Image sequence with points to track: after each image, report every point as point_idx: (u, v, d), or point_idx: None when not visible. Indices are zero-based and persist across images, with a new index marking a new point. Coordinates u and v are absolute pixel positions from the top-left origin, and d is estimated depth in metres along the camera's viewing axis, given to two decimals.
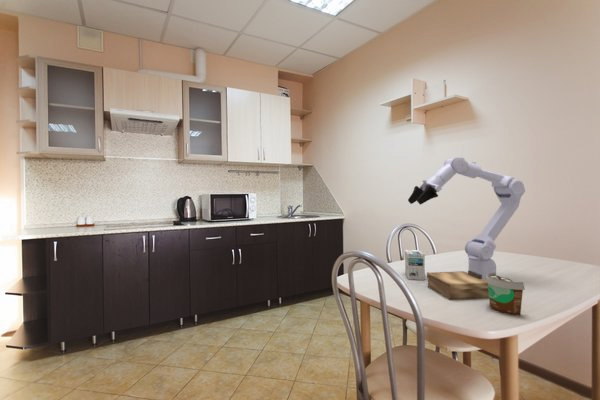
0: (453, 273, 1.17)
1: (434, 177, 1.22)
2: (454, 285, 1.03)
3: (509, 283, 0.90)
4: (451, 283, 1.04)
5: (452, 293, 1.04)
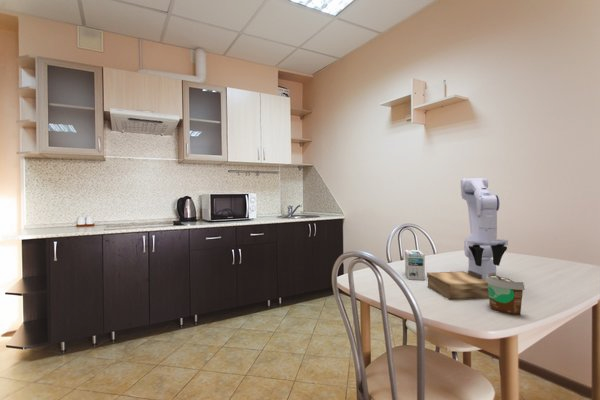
0: (453, 273, 1.17)
1: (496, 232, 1.10)
2: (454, 285, 1.03)
3: (509, 283, 0.90)
4: (451, 283, 1.04)
5: (452, 293, 1.04)
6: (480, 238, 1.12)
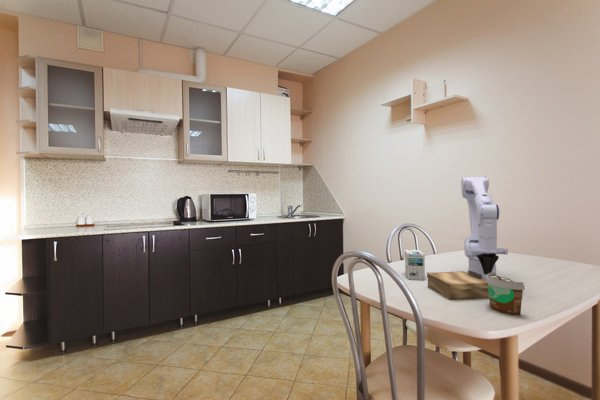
0: (453, 273, 1.17)
1: (496, 241, 1.10)
2: (454, 285, 1.03)
3: (509, 283, 0.90)
4: (451, 283, 1.04)
5: (452, 293, 1.04)
6: (480, 247, 1.12)
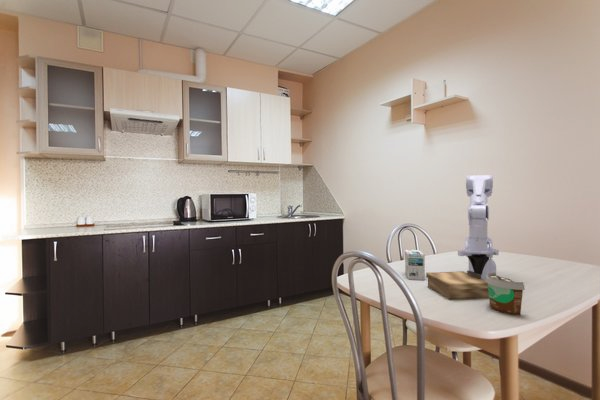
0: (452, 273, 1.17)
1: (486, 242, 1.10)
2: (453, 285, 1.03)
3: (509, 283, 0.90)
4: (450, 283, 1.04)
5: (452, 293, 1.04)
6: (471, 248, 1.12)
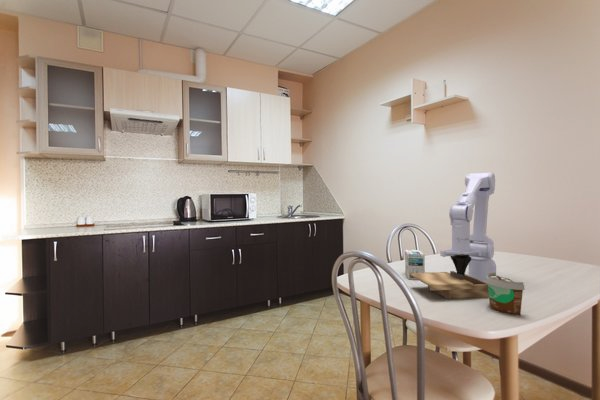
0: (435, 274, 1.16)
1: (469, 243, 1.09)
2: (434, 286, 1.02)
3: (509, 283, 0.90)
4: (431, 284, 1.03)
5: (452, 293, 1.04)
6: (453, 248, 1.11)
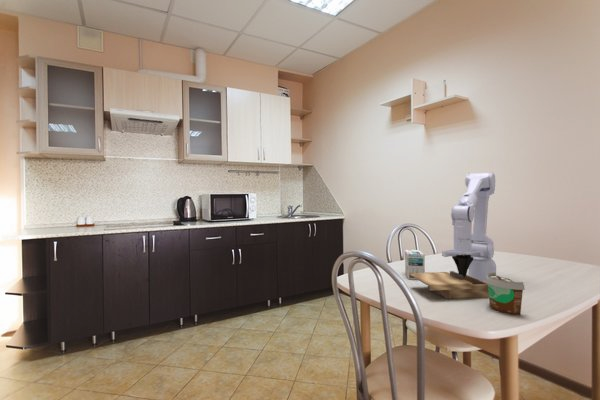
0: (435, 274, 1.16)
1: (470, 243, 1.09)
2: (434, 286, 1.02)
3: (509, 283, 0.90)
4: (431, 284, 1.03)
5: (452, 293, 1.04)
6: (455, 248, 1.11)
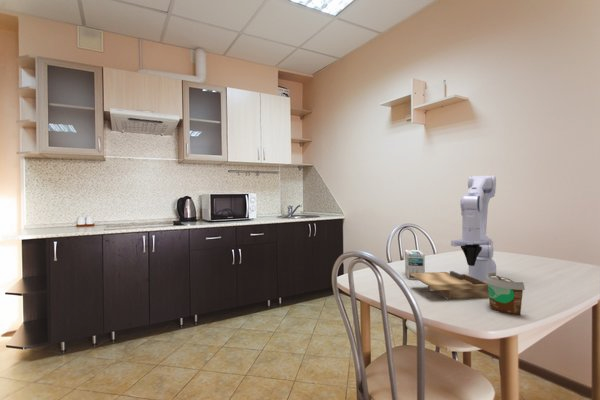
0: (435, 274, 1.16)
1: (479, 232, 1.11)
2: (434, 286, 1.02)
3: (509, 283, 0.90)
4: (431, 284, 1.03)
5: (452, 293, 1.04)
6: (464, 238, 1.12)
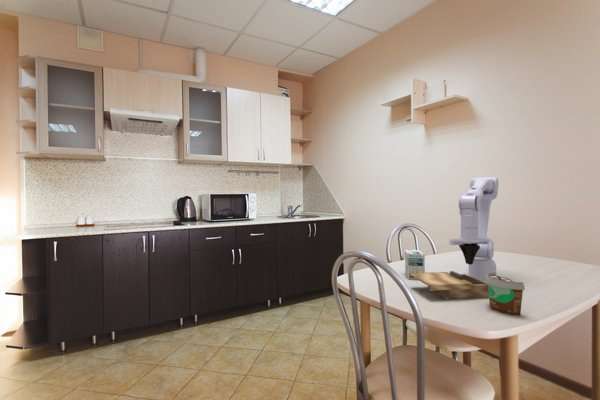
0: (435, 274, 1.16)
1: (477, 231, 1.13)
2: (434, 286, 1.02)
3: (509, 283, 0.90)
4: (431, 284, 1.03)
5: (452, 293, 1.04)
6: (462, 237, 1.14)
